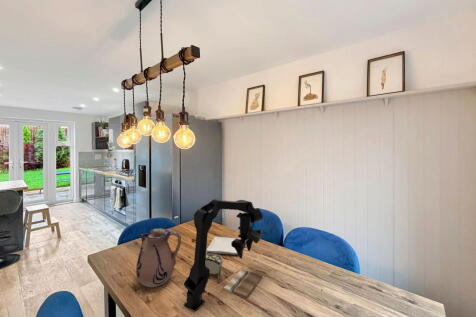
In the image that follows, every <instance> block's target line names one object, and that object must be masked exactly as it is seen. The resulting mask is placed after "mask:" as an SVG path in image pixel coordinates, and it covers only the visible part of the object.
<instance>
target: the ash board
mask: <svg viewBox="0 0 476 317" xmlns="http://www.w3.org/2000/svg"><path fill="white" fill-rule="evenodd" d="M248 274H249V270H247V269H242V268H241V269H240V270H239V271H238V273H236V274H235V276H234V277H232V278H231V280H229V281H228V282H227V284H226V285H225V286H224V287H223V290H224V291H225V292H228V293H233V291H234V290H235V288H236V287H237V286H238V285H239V284H240V283H241V282H242V280H243V279H244V278H245V277H246V276H247V275H248Z"/></svg>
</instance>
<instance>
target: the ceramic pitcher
mask: <svg viewBox="0 0 476 317" xmlns="http://www.w3.org/2000/svg"><path fill="white" fill-rule="evenodd" d="M171 236H176V237H177V245H176V247H175V250H174V251H172V249H171V246H170V244H169V238H170V237H171ZM140 237H141V244H140V249H139V254H138V258H137V261H136V267H135V269H136V271H135V273H136V274H135V275H136V278H137V280H138V281H139V283H140V284H142V285H143V286H144V287H148V288H156V287H158V286H162V285H164V284H165V283H166V282H167V281H168V280H169V279H170V278H171V276H172V275H173V273H174V269H175V266H176V263H177V261H176V260H177V259H176V257H177V255H178V253H179V251H180V247H181V244H182V235H181V234H180V233H179V232H178V231H170V230H169V229H167V228H163V227H162V228H153V229H150V230H149V232H143V233H140Z"/></svg>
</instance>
